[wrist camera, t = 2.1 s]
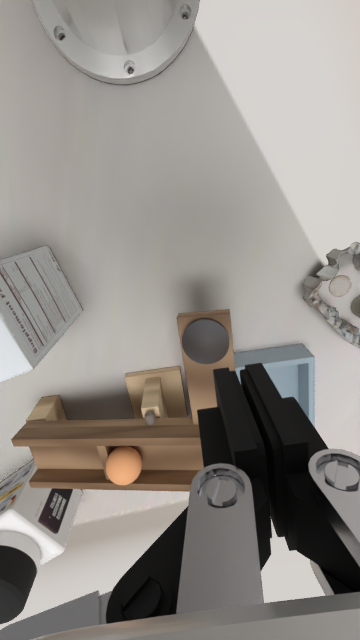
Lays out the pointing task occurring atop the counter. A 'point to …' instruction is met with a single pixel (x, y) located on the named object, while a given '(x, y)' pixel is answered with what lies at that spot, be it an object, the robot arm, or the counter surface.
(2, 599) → the container
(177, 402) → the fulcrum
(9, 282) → the supplement box
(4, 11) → the counter surface
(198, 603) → the robot arm
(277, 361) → the dish
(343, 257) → the egg carton
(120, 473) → the ball
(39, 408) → the block
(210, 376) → the lever
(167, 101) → the counter surface
